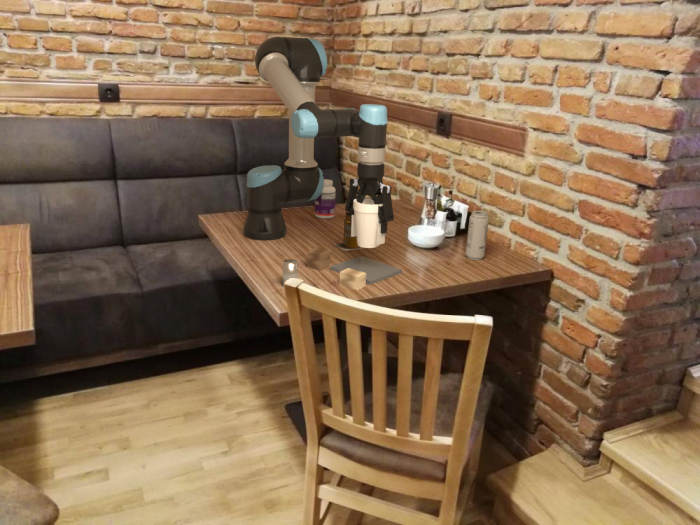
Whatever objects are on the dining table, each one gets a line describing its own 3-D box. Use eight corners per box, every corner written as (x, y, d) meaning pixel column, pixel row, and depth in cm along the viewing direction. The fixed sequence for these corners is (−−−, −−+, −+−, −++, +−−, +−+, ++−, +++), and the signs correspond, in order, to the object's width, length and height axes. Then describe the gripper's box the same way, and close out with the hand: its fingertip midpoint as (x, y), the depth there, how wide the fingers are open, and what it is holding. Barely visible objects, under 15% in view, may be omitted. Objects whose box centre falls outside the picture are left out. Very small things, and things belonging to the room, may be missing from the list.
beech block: (339, 285, 154) (339, 271, 153) (347, 281, 157) (348, 267, 156) (357, 290, 151) (358, 277, 150) (365, 286, 154) (366, 272, 153)
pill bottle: (314, 214, 223) (314, 178, 218) (334, 214, 224) (335, 178, 219) (315, 219, 215) (315, 182, 210) (335, 219, 216) (336, 183, 211)
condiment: (366, 247, 185) (368, 213, 181) (345, 251, 181) (346, 216, 177) (354, 241, 191) (355, 207, 187) (333, 245, 187) (334, 210, 182)
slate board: (330, 269, 165) (330, 266, 165) (361, 258, 175) (362, 255, 175) (370, 284, 155) (370, 281, 155) (401, 272, 165) (401, 269, 164)
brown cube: (306, 267, 166) (307, 251, 164) (315, 262, 170) (316, 247, 169) (321, 270, 164) (321, 255, 162) (329, 266, 168) (330, 250, 166)
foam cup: (369, 251, 156) (371, 206, 152) (345, 244, 162) (346, 200, 157) (390, 244, 163) (393, 201, 158) (366, 237, 168) (368, 195, 164)
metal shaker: (279, 285, 152) (279, 261, 150) (291, 281, 155) (290, 258, 152) (289, 289, 150) (289, 265, 147) (300, 286, 152) (300, 262, 150)
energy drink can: (482, 261, 176) (488, 216, 171) (463, 259, 178) (468, 213, 173) (485, 256, 182) (490, 211, 177) (466, 253, 184) (471, 209, 178)
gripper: (333, 158, 158) (331, 233, 166) (393, 169, 144) (388, 251, 152) (351, 155, 163) (349, 229, 171) (410, 166, 149) (405, 246, 157)
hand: (367, 239), depth 161 cm, fingers closed on foam cup, 9 cm apart
